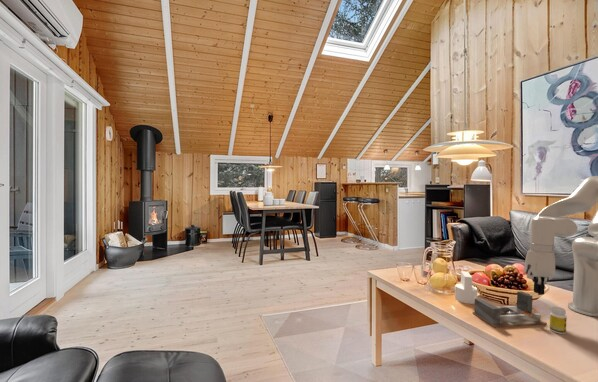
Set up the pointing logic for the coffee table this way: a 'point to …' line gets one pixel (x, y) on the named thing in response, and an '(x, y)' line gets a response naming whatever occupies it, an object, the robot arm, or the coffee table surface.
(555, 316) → the supplement bottle
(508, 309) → the l-shaped angle bracket
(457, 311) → the coffee table surface
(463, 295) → the cylinder with rectangular tab
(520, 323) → the gauge base
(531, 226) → the robot arm
